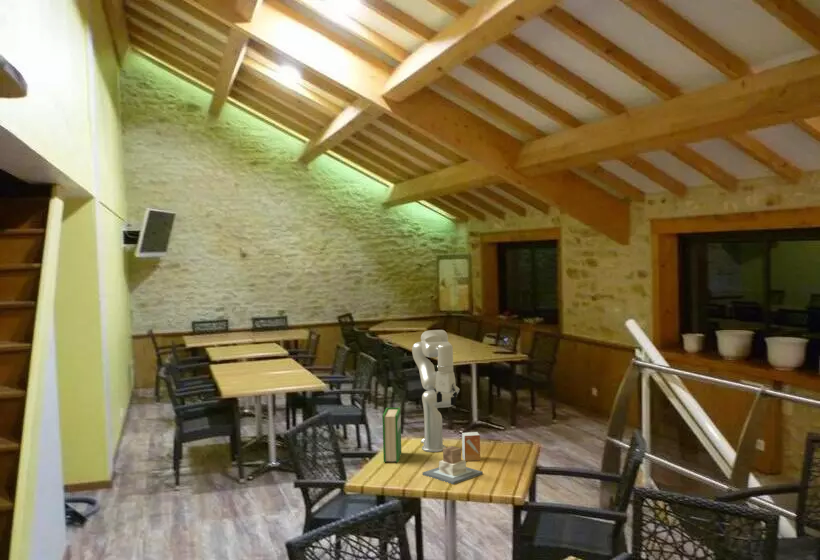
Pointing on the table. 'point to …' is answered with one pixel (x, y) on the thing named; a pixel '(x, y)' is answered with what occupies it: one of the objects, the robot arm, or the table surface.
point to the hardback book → (392, 434)
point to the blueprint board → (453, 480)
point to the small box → (471, 446)
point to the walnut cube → (452, 454)
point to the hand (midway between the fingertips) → (446, 403)
